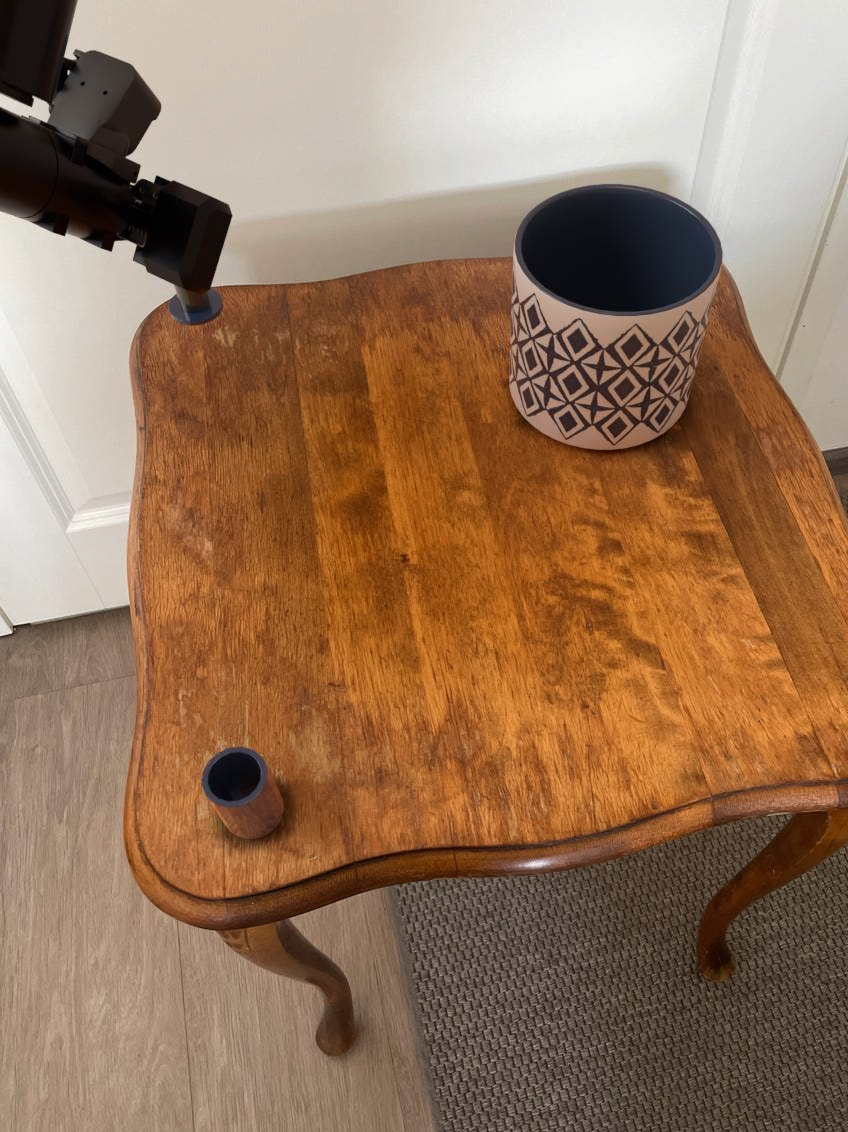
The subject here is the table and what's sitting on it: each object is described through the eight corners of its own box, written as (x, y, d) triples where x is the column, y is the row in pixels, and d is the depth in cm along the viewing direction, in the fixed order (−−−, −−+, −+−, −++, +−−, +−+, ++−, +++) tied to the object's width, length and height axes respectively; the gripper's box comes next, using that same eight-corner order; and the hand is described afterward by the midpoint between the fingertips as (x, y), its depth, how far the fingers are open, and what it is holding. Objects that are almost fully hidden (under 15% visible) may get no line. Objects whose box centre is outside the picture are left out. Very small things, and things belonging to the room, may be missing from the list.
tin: (222, 842, 61) (199, 809, 56) (225, 785, 64) (203, 749, 59) (283, 836, 62) (266, 803, 57) (284, 780, 64) (267, 743, 59)
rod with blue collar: (169, 332, 77) (130, 221, 68) (174, 297, 79) (137, 186, 70) (223, 330, 77) (191, 219, 68) (227, 295, 79) (196, 183, 71)
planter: (685, 332, 87) (718, 187, 75) (690, 460, 79) (729, 322, 66) (514, 322, 88) (520, 177, 75) (502, 448, 79) (506, 309, 67)
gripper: (172, 78, 54) (318, 167, 68) (-50, -9, 59) (129, 91, 73) (120, 270, 57) (269, 316, 71) (-87, 172, 62) (91, 234, 76)
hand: (189, 234), depth 73 cm, fingers closed on rod with blue collar, 2 cm apart
